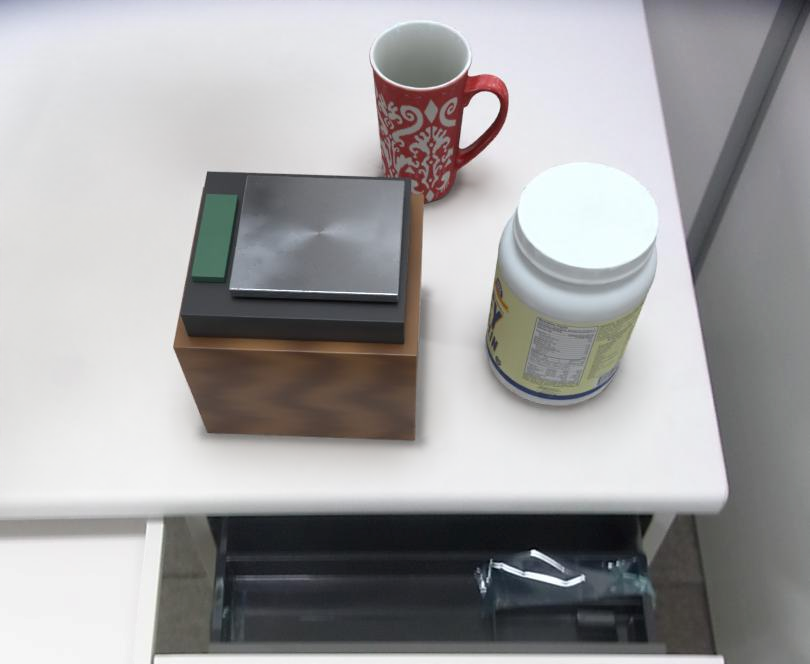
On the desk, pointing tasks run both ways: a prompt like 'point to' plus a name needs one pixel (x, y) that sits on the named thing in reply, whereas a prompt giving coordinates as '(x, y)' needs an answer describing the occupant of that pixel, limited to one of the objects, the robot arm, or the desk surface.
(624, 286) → the supplement tub
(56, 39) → the desk surface
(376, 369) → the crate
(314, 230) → the scale pan
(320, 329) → the scale
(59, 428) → the desk surface
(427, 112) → the mug
